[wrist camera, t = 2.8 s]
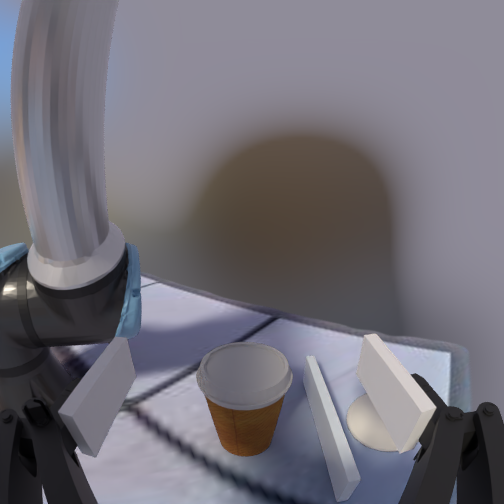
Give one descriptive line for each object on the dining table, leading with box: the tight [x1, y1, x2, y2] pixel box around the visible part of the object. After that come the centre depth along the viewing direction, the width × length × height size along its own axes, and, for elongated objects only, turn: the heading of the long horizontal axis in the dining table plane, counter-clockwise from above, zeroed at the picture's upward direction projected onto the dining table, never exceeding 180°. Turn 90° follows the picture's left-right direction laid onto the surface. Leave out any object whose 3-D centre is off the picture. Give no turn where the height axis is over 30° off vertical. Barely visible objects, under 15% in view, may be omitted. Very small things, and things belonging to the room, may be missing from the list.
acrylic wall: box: [303, 356, 361, 502], centre depth 28 cm, size 22×1×5 cm, turn 2°
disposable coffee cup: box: [196, 342, 293, 456], centre depth 27 cm, size 10×10×12 cm
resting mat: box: [346, 393, 419, 452], centre depth 29 cm, size 12×12×1 cm
